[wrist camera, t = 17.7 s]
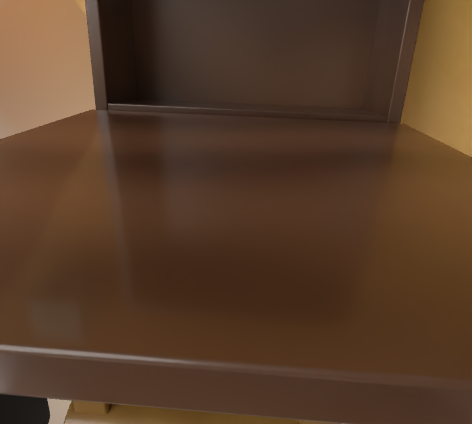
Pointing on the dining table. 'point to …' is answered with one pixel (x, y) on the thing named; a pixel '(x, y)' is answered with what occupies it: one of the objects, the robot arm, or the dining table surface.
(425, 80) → the dining table surface
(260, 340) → the lid
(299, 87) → the box
